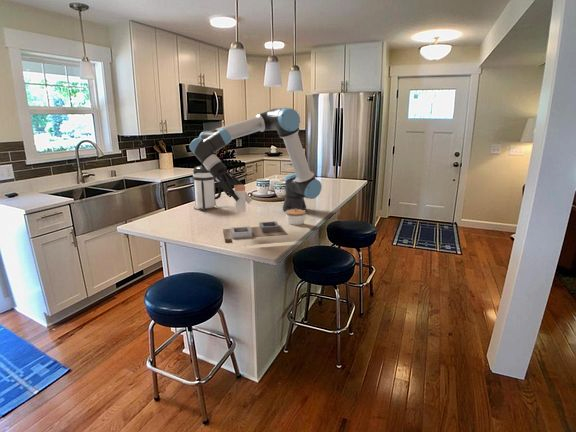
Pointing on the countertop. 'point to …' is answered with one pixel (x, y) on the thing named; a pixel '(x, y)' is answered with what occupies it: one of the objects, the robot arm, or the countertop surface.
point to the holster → (269, 226)
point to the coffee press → (204, 188)
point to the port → (241, 232)
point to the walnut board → (254, 233)
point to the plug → (241, 192)
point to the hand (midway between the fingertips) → (246, 203)
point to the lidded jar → (295, 216)
